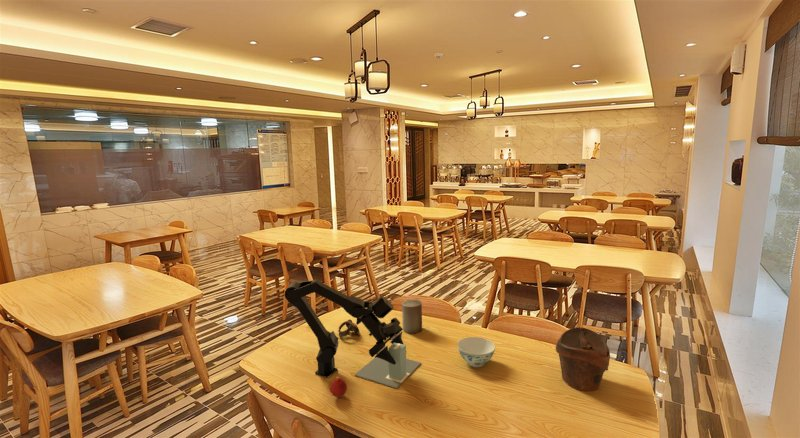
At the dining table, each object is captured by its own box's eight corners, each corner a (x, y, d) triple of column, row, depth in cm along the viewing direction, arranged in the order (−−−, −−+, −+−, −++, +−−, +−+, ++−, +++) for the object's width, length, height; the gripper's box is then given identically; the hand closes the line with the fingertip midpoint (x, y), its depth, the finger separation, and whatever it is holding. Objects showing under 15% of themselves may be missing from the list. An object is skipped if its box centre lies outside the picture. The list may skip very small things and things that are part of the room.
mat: (396, 388, 145) (396, 387, 145) (354, 375, 155) (354, 374, 155) (421, 363, 162) (421, 362, 162) (381, 353, 172) (381, 351, 172)
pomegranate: (339, 390, 145) (338, 370, 144) (350, 396, 141) (349, 375, 140) (327, 398, 141) (326, 377, 139) (338, 404, 137) (337, 383, 136)
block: (400, 380, 150) (400, 350, 148) (389, 377, 152) (388, 347, 150) (406, 373, 154) (405, 344, 152) (394, 371, 156) (394, 342, 154)
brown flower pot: (579, 402, 135) (582, 352, 133) (543, 372, 154) (545, 328, 152) (622, 393, 140) (626, 345, 137) (582, 365, 159) (585, 323, 156)
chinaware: (495, 374, 154) (495, 355, 152) (456, 371, 157) (456, 352, 155) (494, 355, 168) (494, 338, 167) (458, 352, 171) (458, 335, 170)
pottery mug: (362, 339, 186) (353, 328, 182) (344, 348, 186) (335, 337, 183) (360, 323, 197) (352, 312, 193) (343, 332, 197) (335, 320, 194)
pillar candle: (425, 327, 196) (425, 298, 194) (416, 335, 188) (415, 305, 186) (408, 324, 201) (408, 295, 199) (398, 331, 193) (397, 301, 191)
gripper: (375, 323, 143) (403, 358, 140) (397, 305, 159) (423, 336, 156) (357, 340, 147) (384, 374, 144) (381, 321, 164) (405, 351, 161)
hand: (400, 358), depth 151 cm, fingers open, 9 cm apart
